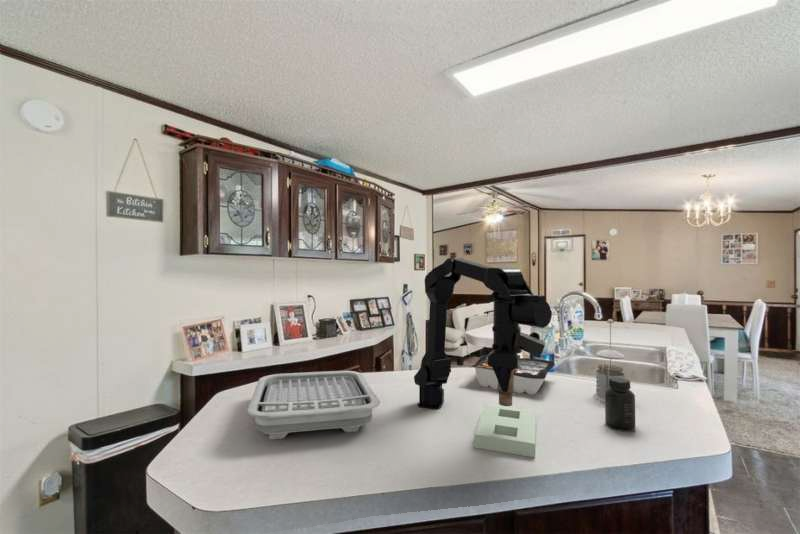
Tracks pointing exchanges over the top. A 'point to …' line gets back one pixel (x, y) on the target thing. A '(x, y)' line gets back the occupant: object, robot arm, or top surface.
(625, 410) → the supplement bottle
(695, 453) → the top surface
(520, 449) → the board
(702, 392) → the top surface
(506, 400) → the peg
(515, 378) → the food packaging
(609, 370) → the french press
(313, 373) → the dish rack
